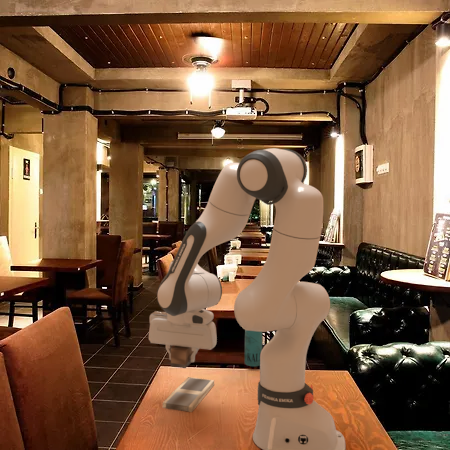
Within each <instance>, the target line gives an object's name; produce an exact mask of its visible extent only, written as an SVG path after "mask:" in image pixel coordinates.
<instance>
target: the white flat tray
mask: <svg viewBox="0 0 450 450" xmlns="http://www.w3.org/2000/svg"><path fill="white" fill-rule="evenodd" d="M214 386H215V379H209V378H208V379H207V378H199V377H191V376H187V378H186V379H185V380H183V381H182V383H181V384H180V385H178V386H177V388H176V389H174V390H173V391H172V393H171V394H169V396H168V397H167V398H165V400H164V401H163V402H162V409H168V410H176V411H182V412H189V413H193V412H194V411H195V409H196V408H197V407H198V405H199V404H200V403H201V401H203V399H204V398H205V397H206V396H207V394H208V393H209V392H210V391H211V389H212V388H213V387H214Z"/></svg>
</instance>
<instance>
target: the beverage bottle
mask: <svg viewBox="0 0 450 450" xmlns="http://www.w3.org/2000/svg"><path fill="white" fill-rule="evenodd" d="M263 347H264V345H263V332H258V331H248V330H245V329H244V354H243V355H244V356H243V357H244V359H243V361H244V364H245V365H246V366H250V367H260V354H261V351H262V349H263Z"/></svg>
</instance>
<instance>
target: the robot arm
mask: <svg viewBox="0 0 450 450" xmlns="http://www.w3.org/2000/svg"><path fill="white" fill-rule="evenodd" d="M307 175H308V165H307V163H306V161H305V159H304V157H303V156H302V155H301V154H300V153H298V152H297V151H295V150H292V149H289V148H283V149H281V148H277V147H276V148H275V147H273V148H266V149H257V150H254V151H252V152H250V153H248V154H246V155H245V156H244V157H243V158H242V159H241V160H240V162H230V163H227V164H226V165H225V166H223V168H222V170H221V171H220V173H219V174H218V177H217V178H216V181H215V183H214V185H213V188H212V190H211V192H210V195H209V198H208V201H207V204H206V206H205V208H204V210H203V211H202V213H201V215H200V216H199V218H198V219H196V221H195V222H194V223H193V224H192V225H191V226H190V227H189V228H188V230H187V231H186V233H185V235H184V237H183V239H182V241H181V244H180V246H179V247H178V250H177V252H176V255H175V256H174V258H173V260H172V261H170V262H169V266H168V270H167V273H166V274H165V275H164V277H163V279H162V280H161V282H160V284H159V285H158V288H157V290H156V291H157V292H156V301H157V303H158V306H159V307H160V308H161V310H163V311H157V310H155V311H154V312H152V313H150V315H149V330H148V341H149V342H150V344H157V345H158V344H159V345H165V350H166V351H167V353H168V360H169V361H171V349H172V348H173V347H174V346H182V347H191V348H192V351H194V352H193V354H190V355H189V356H188V359H189V360H188V362H191V363H195V361H196V355H197V354H198V351H199V350H200V349H202V350H213V349H214V348H215V347H216V345H217V342H218V341H217V340H218V339H217V338H218V337H217V327H216V324H215V322H214V321H213V319H214V316H215V315H214V313H213V312H212V311H210V310H207V309H208V308H211V307H214V306H217V305H218V304H219V302H221V299H222V295H223V286H222V282H221V280H220V278H219V277H218V276H217V275H216V274H214V273H210V272H209V271H207V270H205V269H204V268H202V267H201V266H200V265H199V264H198V263H199V262H200V259H201V258H202V257H203V255H204V254H206V253H207V252H208V251H209V250H212V249H213V248H215V247H216V246H219V245H221V244H223V243H227V242H228V241H231V240H233V239H235V238H237V237H238V236H239V235H241V233H242V232H243V231H244V229H245V227H246V225H247V224H248V221H249V219H250V215H251V213H252V210H253V206H254V203H255V202H256V200H257V199H258V200H259V201H261V202H263V203H264V204H265V205H269V206H270V205H271V206H272V205H274V207H275V217H274V222H273V229H272V234H271V239H270V245H269V249H268V254H267V257H266V260H265V262H264V264H263V265H262V268H261V269H260V271H259V272H258V274H257V275H256V276H255V278H254V279H253V280H252V282H250V284H248V285H247V287H245V288H244V289H242V290H241V291H239V293H238V294H237V296H236V298H235V301H234V305H233V307H234V308H233V311H234V312H233V313H234V316H235V320H236V321H237V323H238V324H239V326H240V327H242V329H243V330H244V331H245V330H248V331H258V332H262V333H265V332H266V333H267V332H273V331H275V333H274V335H273V337H272V338H271V339H270V340H269V341H268V342H267V343H266V344H265V345H263V346H262V348H263V349H262V351H261V354H260V365H259V381H258V383H257V384H258V385H257V394H256V395H257V405H258V412H257V419H256V423H255V427H254V431H253V433H252V441H253V442H254V444H255V445H256V446H257V447H258V448H259V449H262V450H347V449H346V447H347V446H346V438H345V437H344V435H343V434H342V432H340V430H337V428H336V425H335V424H336V423H335V420H334V417H333V415H331V413H330V412H329V411H327V410H326V409H325V408H324V407H323V406H321V405H320V403H318V402H316V401H315V399H314V398H315V397H314V386H313V384H311V385H310V386H309V384H307V383H306V366H307V365H306V363H307V354H308V350H309V346H310V343H311V340H312V337H313V336H314V333H315V332H316V330H317V328H318V327H319V326H320V324H321V323H322V322H323V321H324V320H325V319H326V318H327V317H328V316H329V313H330V309H331V299H330V296H329V294H328V292H327V290H326V289H325V287H324V286H322V285H321V284H320V283H314V282H308V281H300V280H302V278H303V277H305V276H306V275H307V274H309V273H310V272H311V271H312V270H313V269H314V267H315V264H316V260H317V255H318V251H319V244H320V241H321V235H322V234H321V233H322V229H323V223H324V221H323V220H324V196H323V194H322V192H320V190H319V189H317V188H316V187H314V186H313V185H310V184H305V183H304V182H305V180H306V178H307ZM206 308H207V309H206Z"/></svg>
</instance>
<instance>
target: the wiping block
mask: <svg viewBox="0 0 450 450" xmlns="http://www.w3.org/2000/svg"><path fill="white" fill-rule="evenodd" d="M171 348H172V349H171V360H170V367H172V368H181V369H187V367H189V365H191V363H192V362H188V360H189V359H188V356H189V355H190V354H193V352H194V351H192V348H191V347H182V346H174V345H173V346H172V347H171Z"/></svg>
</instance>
